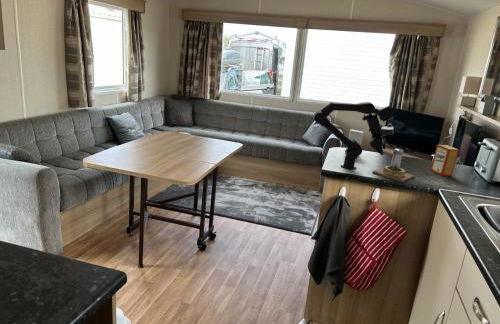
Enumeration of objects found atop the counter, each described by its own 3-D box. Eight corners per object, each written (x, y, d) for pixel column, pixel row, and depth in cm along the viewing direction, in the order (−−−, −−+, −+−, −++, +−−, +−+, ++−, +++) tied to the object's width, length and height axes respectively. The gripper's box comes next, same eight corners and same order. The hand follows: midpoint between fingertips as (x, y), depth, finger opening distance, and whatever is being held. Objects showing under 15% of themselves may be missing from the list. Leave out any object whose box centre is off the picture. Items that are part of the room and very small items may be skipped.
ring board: (401, 182, 183) (403, 175, 182) (372, 173, 194) (373, 166, 193) (413, 177, 195) (415, 171, 194) (385, 168, 205) (386, 162, 204)
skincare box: (345, 155, 225) (349, 130, 221) (345, 152, 232) (349, 128, 227) (358, 157, 224) (364, 132, 219) (358, 155, 230) (363, 130, 226)
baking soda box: (451, 176, 207) (459, 149, 202) (441, 175, 205) (449, 148, 200) (439, 170, 215) (446, 144, 211) (430, 170, 214) (437, 143, 209)
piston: (397, 175, 191) (403, 151, 187) (388, 173, 193) (393, 149, 189) (398, 173, 195) (404, 149, 191) (389, 171, 197) (394, 148, 193)
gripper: (387, 125, 179) (397, 154, 182) (391, 115, 195) (400, 142, 198) (365, 132, 185) (375, 159, 188) (371, 121, 200) (380, 147, 204)
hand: (383, 152), depth 194 cm, fingers open, 9 cm apart
